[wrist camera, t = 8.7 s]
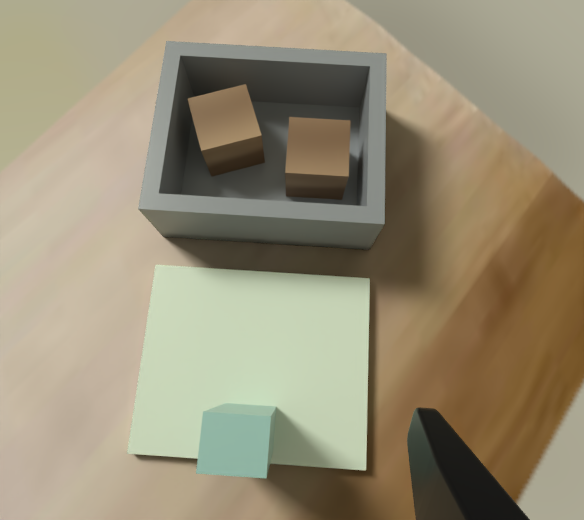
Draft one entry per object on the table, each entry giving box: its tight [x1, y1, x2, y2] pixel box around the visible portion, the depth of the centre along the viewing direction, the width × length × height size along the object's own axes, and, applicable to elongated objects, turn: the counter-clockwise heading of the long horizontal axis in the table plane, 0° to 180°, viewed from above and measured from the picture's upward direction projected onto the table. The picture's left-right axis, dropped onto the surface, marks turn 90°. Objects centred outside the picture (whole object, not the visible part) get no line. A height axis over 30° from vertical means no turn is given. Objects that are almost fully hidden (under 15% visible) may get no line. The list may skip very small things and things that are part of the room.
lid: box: [127, 265, 370, 478], centre depth 19 cm, size 9×11×6 cm
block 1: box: [188, 84, 265, 177], centre depth 23 cm, size 3×3×3 cm
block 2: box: [285, 117, 351, 200], centre depth 22 cm, size 3×3×3 cm
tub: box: [138, 41, 386, 250], centre depth 23 cm, size 9×11×4 cm
